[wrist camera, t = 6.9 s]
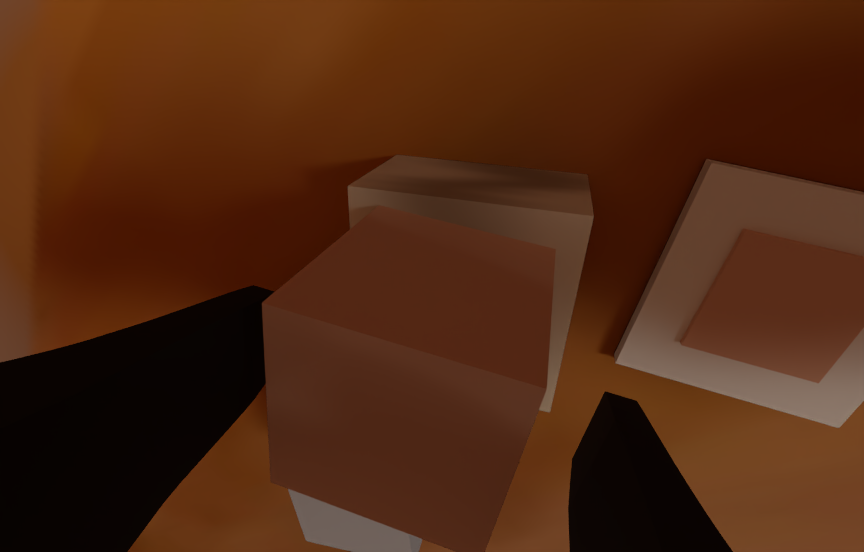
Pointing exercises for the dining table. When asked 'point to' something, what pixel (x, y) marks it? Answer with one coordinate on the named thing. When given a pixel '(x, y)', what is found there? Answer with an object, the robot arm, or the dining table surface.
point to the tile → (759, 295)
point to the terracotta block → (409, 373)
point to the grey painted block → (348, 528)
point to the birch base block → (494, 217)
